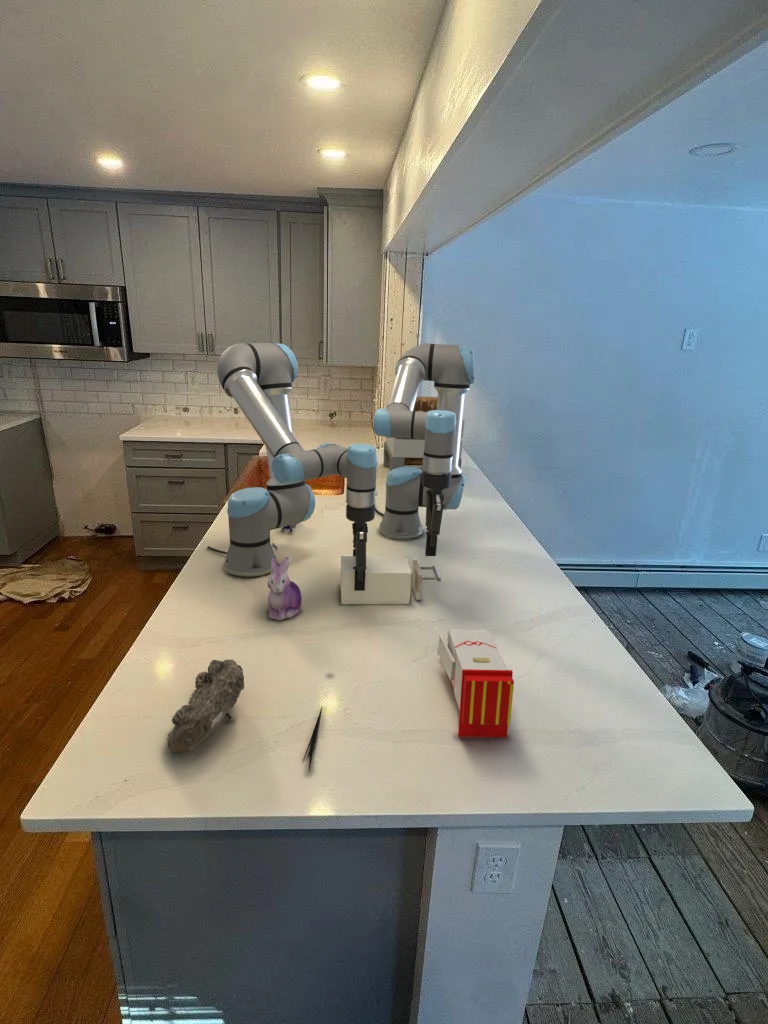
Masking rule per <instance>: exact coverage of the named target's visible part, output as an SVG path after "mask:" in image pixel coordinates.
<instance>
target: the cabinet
mask: <svg viewBox="0 0 768 1024" xmlns="http://www.w3.org/2000/svg"><path fill="white" fill-rule="evenodd" d="M408 562H409V561H408V558H407V556H406V555H366V570H365V591H354V585H355V569H353V567H355V566H356V556H353V555H341V556H340V604H341V605H410V599H411V597H410V587H411V573H412V569H411V567H410V563H409V564H408Z"/></svg>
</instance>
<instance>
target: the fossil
mask: <svg viewBox="0 0 768 1024" xmlns="http://www.w3.org/2000/svg"><path fill="white" fill-rule="evenodd" d="M243 670H244V669H243V667H242V665H240V664H237V662H236V661H235V660H234V659H232V658H231V659H227V658H226V659H224V660H223V661H222V660H217V659H212V660H211V661H210V663H209V665H208V666H207V671H201V672H199V673H198V674H197V675H196V676H195V680H194V684H195V685H194V687H195V689H194V690H193V693H192V694H191V697H190V698H189V700H188V704H184V705H182V706H181V707H180V709H177V710H176V711H175V713H174V715H173V716H172V718H171V723H172V724H173V727H172V730H171V731H170V732H168V734H167V738H166V741H167V742H166V745H167V749H168V750H169V751H173V752H174V753H176V754H178V753H182V752H188V751H189V752H192V751H193V750H195V748H196V747H197V746H199V744H200V743H201V742H203V741H204V740H205V739H206V738H207V737H208V736H209V735H210V734H211V733H212V732H214V730H215V729H217V727H218V726H219V724H220V722H221V721H222V720H223V719H224V718H225V716H226V717H227V719H229V720H233V717H232V715H230V714H229V710H230V709H231V708H234V706H235V704H236V703H237V702H238V699H239V697H240V695H241V693H242V691H243V690H245V689H244V688H245V675H244V671H243Z"/></svg>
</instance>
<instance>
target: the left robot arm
mask: <svg viewBox="0 0 768 1024" xmlns="http://www.w3.org/2000/svg"><path fill="white" fill-rule="evenodd" d="M216 373H217V378H218V382H219V385H220V387H221V388H222V390H223V391H224V393H225V394H226V395H227V397H230V398H233V399H234V401H235V402H236V404H237V405H238V407H239V409H240V410H241V411H242V413H243V414H244V416H245V418H246V419H247V420H248V421H249V423H250V425H251V426H252V428H253V430H254V431H255V432H256V434H257V435H258V437H259V438H260V440H261V441H262V443H263V444H264V446H265V450H266V457H267V464H268V472H269V479H268V480H267V482H266V483H265V486H266V488H264V487H260V486H254V487H246V488H241V489H239V490H237V491H234V492H233V493H232V494H231V495H230V496H229V498H228V501H227V511H226V512H227V517H228V519H227V520H228V533H229V534H228V536H229V545H228V549H227V551H224V550H220V549H217V548H214V547H211V546H209V545H208V546H206V548H207V550H210V551H212V552H215V553H218V554H222V555H226V556H225V559H224V570H225V571H226V573H228V574H229V575H231V576H234V577H239V578H258V577H262V576H265V575H268V574H271V561H272V559H273V558H276V559H277V556H276V554H275V551H278V546H277V545H276V544H275V543H273V542H271V531H273V530H278V529H282V528H283V527H285V526H289V525H293V524H296V525H298V524H301V523H303V522H306V521H308V520H309V519H310V518H311V517H312V515H313V514H314V511H315V508H316V496H315V493H314V491H313V488H312V487H311V486H310V485H309V484H307V483H306V481H311V480H316V479H321V478H325V477H331V476H338V477H341V478H343V479H344V478H345V479H346V489H345V490H346V491H345V493H346V494H345V496H346V497H345V502H346V505H345V518H346V519H347V520H348V521H350V522H352V523H351V526H352V527H351V528H352V535H353V539H352V548H353V549H352V556H356V566H355V567H353V569H355V585H354V591H365V570H366V556H367V543H368V533H369V526H368V522H372V521H374V519H375V517H376V516H375V515H376V511H375V507H376V505H375V506H374V504H375V503H376V497H377V496H379V494H378V492H377V491H376V488H377V486H376V485H377V468H378V455H377V453H378V451H377V448H376V447H375V446H374V445H372V444H365V443H352V444H350V445H349V446H348V447H344V446H341V445H339V444H336V443H329V442H324V443H322V444H320V445H319V446H318V447H316V448H315V449H314V448H313V449H306V450H305V449H304V448H303V446H302V445H301V444H300V442H299V441H298V440H297V438H296V437H295V435H294V430H293V423H292V422H293V421H292V415H291V408H290V407H291V406H290V400H289V394H290V392H291V391H292V389H293V384H292V383H294V382H295V381H296V380H297V377H298V374H299V365H298V360H297V358H296V356H295V353H294V352H293V351H292V349H290V347H289V346H288V345H286V344H283V343H278V342H277V343H276V342H253V343H252V342H250V343H248V342H247V343H245V342H240V343H235V344H232V345H230V346H228V347H227V348H225V350H224V351H222V353H221V355H220V357H219V359H218V362H217V367H216Z"/></svg>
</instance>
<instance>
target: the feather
mask: <svg viewBox="0 0 768 1024" xmlns="http://www.w3.org/2000/svg"><path fill="white" fill-rule="evenodd" d="M329 675H330V676H331V675H332V674H331V673H330V674H329ZM322 710H323V707H321V708H320V710H319V713H318V716H317V719H316V723H315V725H314V728H313V731H312V733H311V737H310V739H309V742H308V745H307V748H306V751H305V754H304V757H303V760H302V763H301V767H302V765H303V763H304V761H305V758H308V759H309V760H308V762H307V763H308V764H307V766H308V771H310V770H311V766H312V765H311V764H312V760H313V757H315V756H314V755H315V751H316V749H315V746H317V739H318V733H319V729H320V722H321V717H322V712H323V711H322ZM313 754H314V755H313ZM306 755H307V757H306Z"/></svg>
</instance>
